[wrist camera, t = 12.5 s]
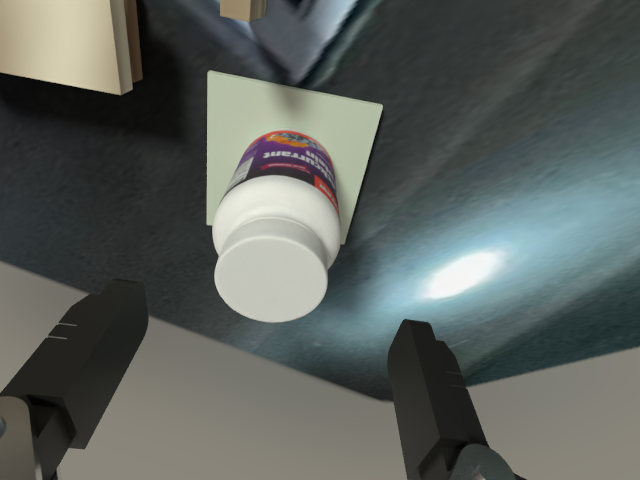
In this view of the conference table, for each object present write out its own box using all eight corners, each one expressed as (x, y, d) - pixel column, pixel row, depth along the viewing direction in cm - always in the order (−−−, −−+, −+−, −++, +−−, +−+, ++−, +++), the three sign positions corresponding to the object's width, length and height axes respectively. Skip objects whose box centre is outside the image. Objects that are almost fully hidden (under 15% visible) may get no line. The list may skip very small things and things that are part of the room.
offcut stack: (145, -15, 16) (107, -19, 13) (152, 79, 18) (121, 95, 15) (-99, -70, 14) (-205, -89, 12) (-60, 38, 17) (-139, 46, 14)
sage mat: (381, 104, 19) (382, 106, 18) (343, 240, 24) (344, 244, 23) (210, 70, 17) (207, 72, 17) (208, 220, 22) (206, 224, 22)
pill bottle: (352, 158, 20) (379, 265, 12) (303, 226, 22) (298, 352, 14) (268, 105, 18) (232, 188, 10) (225, 185, 21) (169, 303, 13)
